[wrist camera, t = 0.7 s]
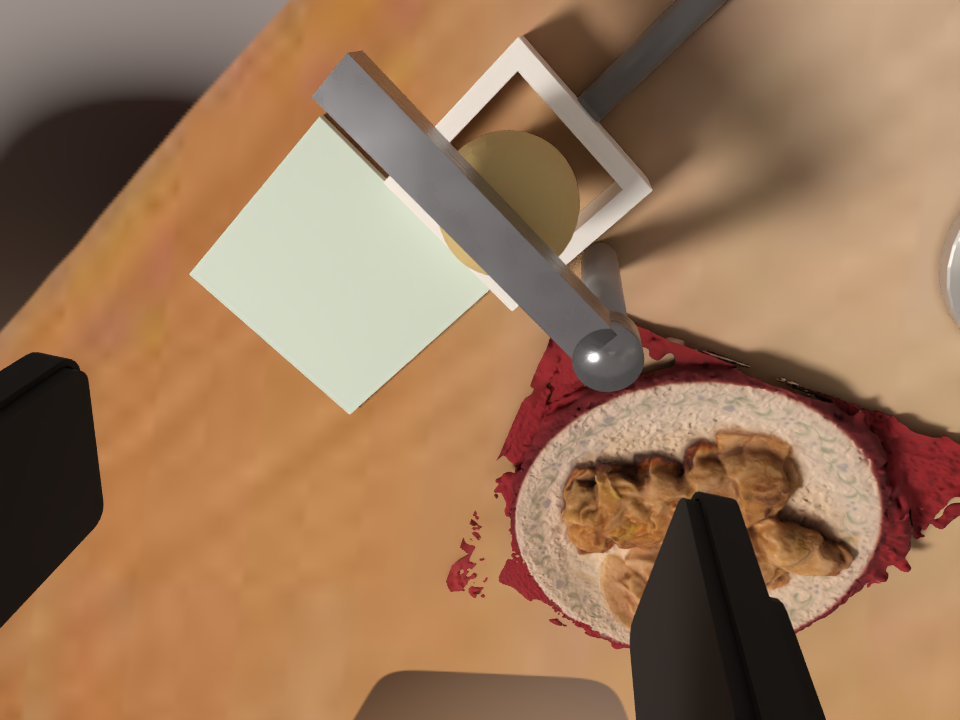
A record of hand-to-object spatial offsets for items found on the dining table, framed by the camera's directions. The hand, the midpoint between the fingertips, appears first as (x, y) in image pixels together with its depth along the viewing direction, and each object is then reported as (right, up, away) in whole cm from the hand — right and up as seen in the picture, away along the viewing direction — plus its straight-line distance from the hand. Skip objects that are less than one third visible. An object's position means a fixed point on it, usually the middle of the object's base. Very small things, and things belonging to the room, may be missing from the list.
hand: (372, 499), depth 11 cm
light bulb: (+4, +12, +26) cm, 29 cm away
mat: (-7, +7, +30) cm, 31 cm away
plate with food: (+15, -8, +35) cm, 40 cm away
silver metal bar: (+2, +7, +16) cm, 18 cm away
